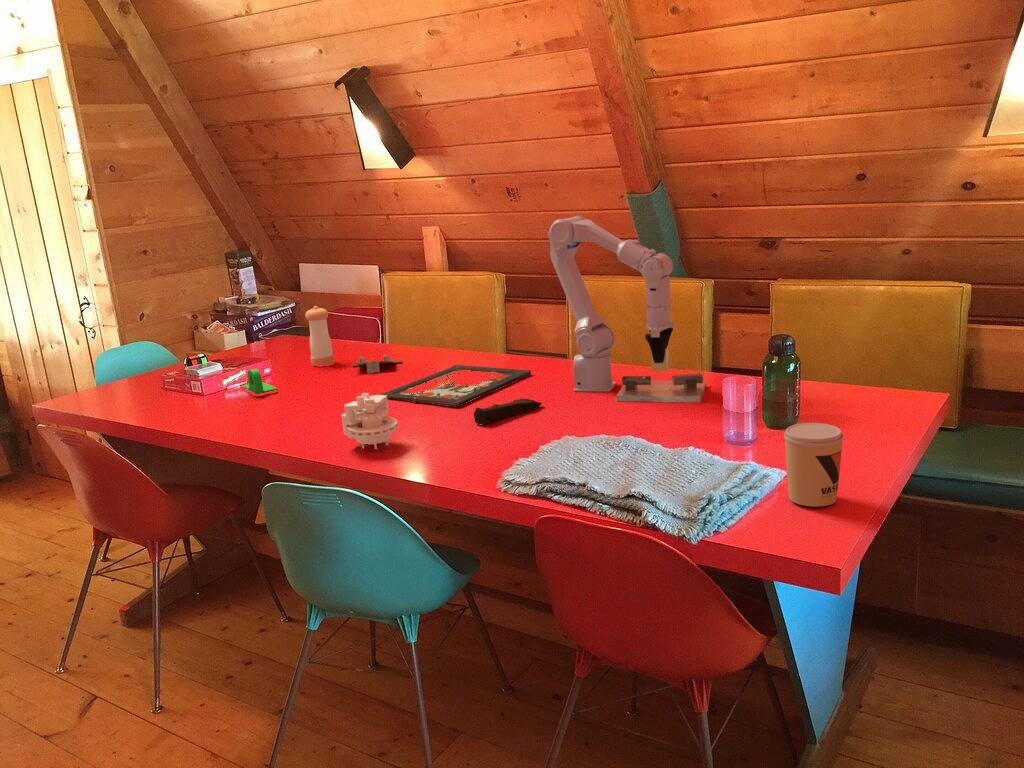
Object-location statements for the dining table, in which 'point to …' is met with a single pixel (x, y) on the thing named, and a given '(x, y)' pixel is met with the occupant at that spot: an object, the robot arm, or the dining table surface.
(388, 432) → the mechanical part
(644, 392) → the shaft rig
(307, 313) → the salt shaker
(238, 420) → the dining table surface
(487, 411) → the hand tool
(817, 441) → the coffee cup
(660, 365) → the tan block with knob
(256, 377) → the mechanical part
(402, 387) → the painting
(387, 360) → the metal bracket
